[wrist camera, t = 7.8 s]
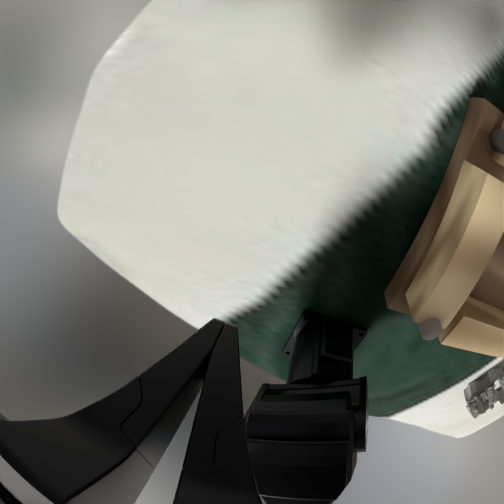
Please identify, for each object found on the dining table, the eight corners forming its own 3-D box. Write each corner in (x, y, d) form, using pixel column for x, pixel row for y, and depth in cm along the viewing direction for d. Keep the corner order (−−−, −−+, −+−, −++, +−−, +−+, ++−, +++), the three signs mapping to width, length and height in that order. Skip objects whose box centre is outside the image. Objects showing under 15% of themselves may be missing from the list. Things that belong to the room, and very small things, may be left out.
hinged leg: (430, 308, 18) (441, 342, 15) (400, 301, 18) (409, 337, 15) (494, 177, 11) (524, 197, 8) (463, 159, 12) (493, 176, 9)
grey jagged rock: (508, 382, 23) (514, 402, 20) (472, 404, 27) (476, 424, 24) (502, 358, 21) (510, 382, 18) (459, 386, 25) (464, 410, 22)
